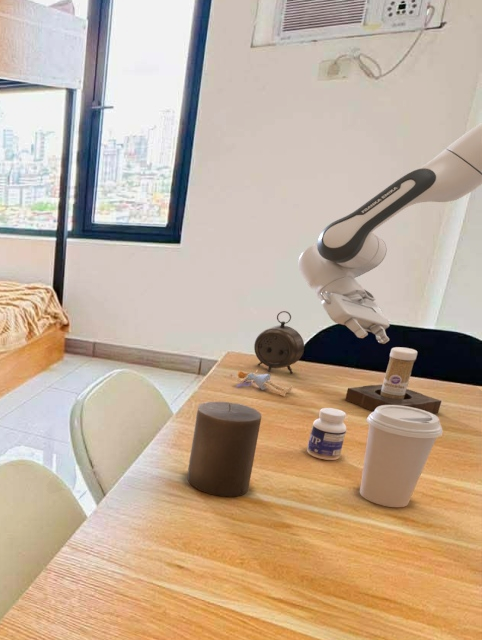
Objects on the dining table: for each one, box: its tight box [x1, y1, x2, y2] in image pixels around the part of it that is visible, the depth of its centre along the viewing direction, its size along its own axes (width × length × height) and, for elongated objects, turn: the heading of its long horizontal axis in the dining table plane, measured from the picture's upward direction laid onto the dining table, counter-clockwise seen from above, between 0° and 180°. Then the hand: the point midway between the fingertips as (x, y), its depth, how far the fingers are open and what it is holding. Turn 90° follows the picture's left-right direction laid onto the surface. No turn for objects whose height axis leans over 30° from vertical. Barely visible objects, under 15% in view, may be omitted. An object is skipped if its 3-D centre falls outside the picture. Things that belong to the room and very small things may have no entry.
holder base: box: [344, 383, 442, 415], centre depth 141 cm, size 12×12×3 cm
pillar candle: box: [187, 401, 262, 498], centre depth 107 cm, size 10×10×15 cm
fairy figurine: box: [235, 369, 293, 397], centre depth 154 cm, size 12×5×12 cm
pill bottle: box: [306, 407, 347, 461], centre depth 118 cm, size 5×5×9 cm
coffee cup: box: [359, 405, 443, 508], centre depth 101 cm, size 10×10×15 cm
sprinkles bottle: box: [380, 346, 418, 399], centre depth 140 cm, size 5×5×13 cm
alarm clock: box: [253, 310, 305, 375], centre depth 165 cm, size 11×5×16 cm, turn 34°
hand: (374, 339), depth 152 cm, fingers open, 8 cm apart
